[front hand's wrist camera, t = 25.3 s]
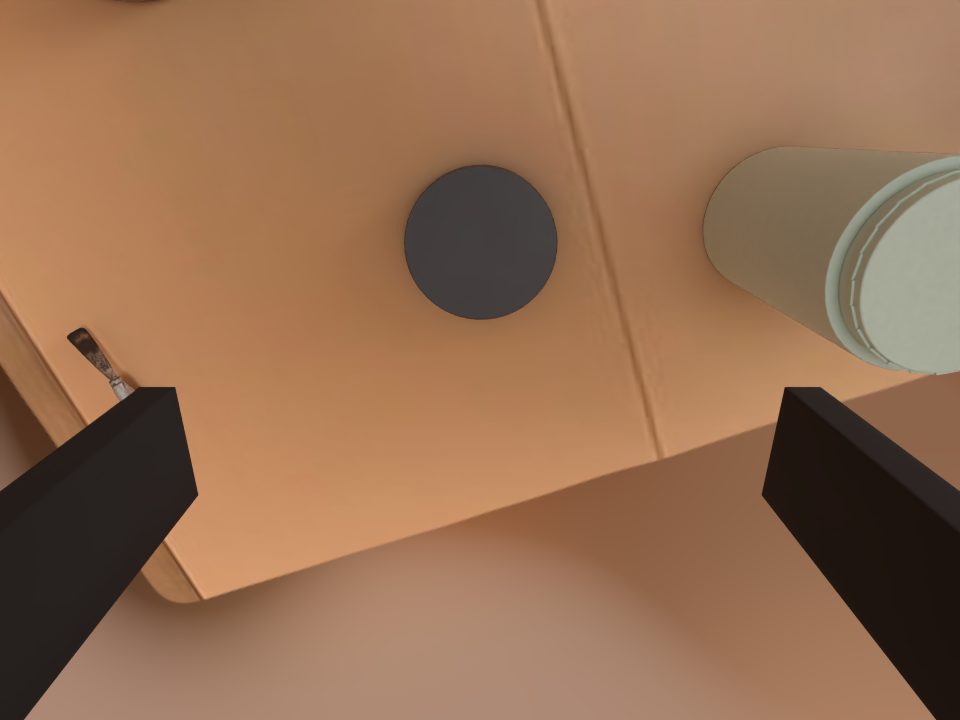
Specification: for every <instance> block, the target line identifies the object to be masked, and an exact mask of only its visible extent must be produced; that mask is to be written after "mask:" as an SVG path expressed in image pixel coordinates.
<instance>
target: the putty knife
mask: <svg viewBox="0 0 960 720" xmlns="http://www.w3.org/2000/svg"><path fill="white" fill-rule="evenodd" d="M67 339H68V340H69V341H70V342H71V343H72V344H73V345H74V346H75V347H76V348H77V349H78V350H79V351H80V352H81V353H82V354H83V355H84V356H85V357H86V358H87V359H88V360H89V361H90V362H91V363H92V364H93V365H94V366H95V367H96V368H97V369H98V370H99V371H100V372H102V373H103V374H104V375H105V376H106V377H107V378H108V379H110V380H111V381H110V382H109V383H110V385H111V386H112V388H113V390H114V393H115V394H116V395H117V397H118V399H119V400H120V401H122V400H123V399H124V398H126V397H127V396H128V395H130V394H131V393H132V392H134V391H135V390H134V389H133V388H132V387H131V386H130V385H129V384H127V383H126V382H125V381H124V380H123V379H121V377H117V375H116V374H115V372H114V370H113V369H112V367H111V365H110V364H109V362H108V360H107V359H106V357H105V356H104V354H103V352H102V351H101V350H100V348H99V347H98V345H97V344H96V342H95V341H94V339H93V338H92V337H91V335H90V334H89V333H88V332H87V331H86V329H84V328H79V329H77V330H75V331H74V332H72V333H70V334H69V335H68V336H67Z"/></svg>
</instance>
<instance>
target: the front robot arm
mask: <svg viewBox="0 0 960 720" xmlns="http://www.w3.org/2000/svg"><path fill="white" fill-rule="evenodd" d="M119 1H129V2H136V1H150V0H119ZM197 496H198V491H197V486H196V482H195V477H194V473H193V468H192V463H191V459H190V454H189V449H188V445H187V440H186V435H185V431H184V426H183V421H182V417H181V412H180V407H179V403H178V398H177V393H176V389H175V387H139V388H138V389H136V390H135V391H134V392H132V393H131V394H130V395H128V396H127V397H126V398H124V399H123V400H122V401H120V402H119V403H118V404H116V405H115V406H114V407H112V408H111V409H110V410H108V411H107V412H106V413H104V414H103V415H102V416H100V417H99V418H98V419H96V420H95V421H94V422H92V423H91V424H90V425H88V426H87V427H86V428H84V429H83V430H82V431H80V432H79V433H78V434H76V435H75V436H74V437H72V438H71V439H70V440H68V441H67V442H66V443H64V444H63V445H62V446H60V447H59V448H58V449H56V450H55V451H54V452H52V453H51V454H50V455H48V456H47V457H45V458H44V459H43V460H42V461H40V462H39V463H38V464H36V465H35V466H33V467H32V468H31V469H30V470H28V471H27V472H25V473H24V474H23V475H21V476H20V477H19V478H17V479H16V480H15V481H13V482H12V483H11V484H9V485H8V486H7V487H5V488H4V489H3V490H1V491H0V720H24V719H25V717H26V716H27V715H28V714H29V712H30V711H31V710H32V708H33V707H34V706H35V705H36V703H37V702H38V701H39V699H40V698H41V697H42V696H43V694H44V693H45V692H46V691H47V689H48V688H49V687H50V685H51V684H52V683H53V681H54V680H55V679H56V678H57V676H58V675H59V674H60V673H61V671H62V670H63V669H64V667H65V666H66V665H67V663H68V662H69V661H70V660H71V658H72V657H73V656H74V654H75V653H76V652H77V651H78V649H79V648H80V647H81V645H82V644H83V643H84V642H85V640H86V639H87V638H88V636H89V635H90V634H91V633H92V631H93V630H94V629H95V627H96V626H97V625H98V624H99V622H100V621H101V620H102V618H103V617H104V616H105V615H106V613H107V612H108V611H109V609H110V608H111V607H112V606H113V604H114V603H115V602H116V600H117V599H118V598H119V597H120V595H121V594H122V593H123V591H124V590H125V589H126V588H127V586H128V585H129V584H130V582H131V581H132V580H133V579H134V577H135V576H136V575H137V573H138V572H139V571H140V570H141V568H142V567H143V566H144V564H145V563H146V562H147V561H148V559H149V558H150V557H151V555H152V554H153V553H154V551H155V550H156V549H157V548H158V546H159V545H160V544H161V542H162V541H163V540H164V539H165V537H166V536H167V535H168V533H169V532H170V531H171V530H172V528H173V527H174V526H175V524H176V523H177V522H178V521H179V519H180V518H181V517H182V515H183V514H184V513H185V512H186V510H187V509H188V508H189V506H190V505H191V504H192V503H193V501H194V500H195V499H196V497H197ZM762 496H763V497H764V499H765V500H766V501H767V503H768V504H769V505H770V506H771V508H772V509H773V510H774V512H775V513H776V514H777V515H778V517H779V518H780V519H781V521H782V522H783V523H784V524H785V526H786V527H787V528H788V530H789V531H790V532H791V533H792V535H793V536H794V537H795V539H796V540H797V541H798V542H799V544H800V545H801V546H802V548H803V549H804V550H805V551H806V553H807V554H808V555H809V557H810V558H811V559H812V560H813V562H814V563H815V564H816V566H817V567H818V568H819V570H820V571H821V572H822V573H823V575H824V576H825V577H826V579H827V580H828V581H829V582H830V584H831V585H832V586H833V588H834V589H835V590H836V591H837V593H838V594H839V595H840V596H841V598H842V599H843V600H844V602H845V603H846V604H847V605H848V607H849V608H850V609H851V611H852V612H853V613H854V615H855V616H856V617H857V618H858V620H859V621H860V622H861V624H862V625H863V626H864V627H865V629H866V630H867V631H868V633H869V634H870V635H871V636H872V638H873V639H874V640H875V642H876V643H877V644H878V645H879V647H880V648H881V649H882V651H883V652H884V653H885V654H886V656H887V657H888V658H889V660H890V661H891V662H892V663H893V665H894V666H895V667H896V669H897V670H898V671H899V673H900V674H901V675H902V676H903V678H904V679H905V680H906V681H907V683H908V684H909V685H910V687H911V688H912V689H913V690H914V692H915V693H916V694H917V696H918V697H919V698H920V700H921V701H922V702H923V703H924V705H925V706H926V707H927V709H928V710H929V711H930V712H931V714H932V715H933V716H934V718H935V719H936V720H960V491H959V490H957V489H956V488H955V487H953V486H952V485H951V484H949V483H948V482H947V481H945V480H944V479H943V478H941V477H940V476H939V475H937V474H936V473H935V472H933V471H932V470H930V469H929V468H928V467H926V466H925V465H924V464H922V463H921V462H920V461H918V460H917V459H916V458H914V457H913V456H912V455H910V454H909V453H908V452H906V451H905V450H904V449H902V448H901V447H900V446H898V445H897V444H896V443H894V442H893V441H892V440H890V439H889V438H888V437H886V436H885V435H884V434H882V433H881V432H880V431H878V430H877V429H876V428H874V427H873V426H872V425H870V424H869V423H868V422H866V421H865V420H864V419H862V418H861V417H860V416H858V415H857V414H856V413H854V412H853V411H852V410H850V409H849V408H848V407H846V406H845V405H844V404H842V403H841V402H840V401H838V400H837V399H836V398H834V397H833V396H832V395H830V394H829V393H828V392H826V391H825V390H824V389H822V388H821V387H785V389H784V393H783V398H782V403H781V407H780V412H779V417H778V421H777V426H776V431H775V435H774V440H773V445H772V449H771V454H770V459H769V463H768V468H767V473H766V477H765V482H764V486H763V491H762Z"/></svg>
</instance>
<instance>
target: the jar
mask: <svg viewBox="0 0 960 720" xmlns="http://www.w3.org/2000/svg"><path fill="white" fill-rule="evenodd" d="M703 238H704V245H705V249H706V252H707V255H708V257H709V259H710V261H711V263H712V265H713V266H714V267H715V269H716V270H717V271H718V272H719V273H720V274H721V275H722V276H723V277H724V278H726V279H727V280H729V281H730V282H732V283H733V284H735V285H737V286H738V287H740V288H742V289H743V290H745V291H747V292H749V293H750V294H752V295H754V296H755V297H757V298H759V299H760V300H762V301H764V302H765V303H767V304H769V305H770V306H772V307H774V308H775V309H777V310H779V311H780V312H782V313H784V314H785V315H787V316H789V317H790V318H792V319H794V320H795V321H797V322H799V323H801V324H802V325H804V326H806V327H807V328H809V329H811V330H812V331H814V332H816V333H817V334H819V335H821V336H822V337H824V338H826V339H827V340H829V341H831V342H832V343H834V344H836V345H837V346H839V347H841V348H842V349H844V350H846V351H847V352H849V353H851V354H853V355H854V356H856V357H858V358H859V359H861V360H863V361H865V362H867V363H869V364H872V365H874V366H878V367H881V368H885V369H892V370H905V371H908V372H910V373H921V374H934V375H941V374H946V373H952V372H957V371H960V154H945V153H923V152H901V151H879V150H857V149H835V148H813V147H786V146H784V147H776V148H771V149H767V150H764V151H761V152H759V153H756V154H754V155H752V156H750V157H748V158H747V159H745V160H744V161H742V162H741V163H739V164H738V165H737V166H735V167H734V168H733V169H732V170H731V171H730V172H729V173H728V174H727V175H726V176H725V177H724V178H723V179H722V181H721V182H720V184H719V185H718V186H717V188H716V189H715V191H714V193H713V195H712V196H711V199H710V201H709V204H708V206H707V209H706V213H705V217H704V223H703Z"/></svg>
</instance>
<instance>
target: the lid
mask: <svg viewBox="0 0 960 720" xmlns="http://www.w3.org/2000/svg"><path fill="white" fill-rule="evenodd" d="M404 244H405V255H406V260H407V264H408V267H409V270H410V273H411V275H412V277H413V279H414V281H415V283H416V284H417V286H418V287H419V289H420V290H421V291H422V292H423V293H424V295H425V296H426V297H427V298H428V299H429V300H431V301H432V302H433V303H434V304H435V305H437V306H438V307H440V308H441V309H443V310H445V311H447V312H449V313H451V314H454V315H456V316H459V317H464V318H468V319H477V320H479V319H493V318H498V317H502V316H505V315H508V314H510V313H513V312H515V311H517V310H518V309H520V308H522V307H523V306H525V305H526V304H527V303H529V302H530V301H531V300H532V299H533V298H534V297H535V296H536V295H537V294H538V293H539V292H540V291H541V289H542V288H543V287H544V285H545V284H546V282H547V280H548V278H549V276H550V274H551V272H552V269H553V266H554V263H555V259H556V253H557V233H556V227H555V223H554V219H553V217H552V214H551V211H550V209H549V208H548V206H547V204H546V202H545V201H544V199H543V198H542V196H541V195H540V194H539V193H538V192H537V191H536V190H535V188H534V187H533V186H532V185H531V184H530V183H528V182H527V181H526V180H525V179H523V178H522V177H520V176H519V175H517V174H515V173H513V172H511V171H509V170H506V169H503V168H500V167H496V166H489V165H472V166H465V167H462V168H458V169H455V170H453V171H451V172H449V173H446V174H445V175H443V176H442V177H440V178H438V179H437V180H436V181H435V182H433V183H432V184H431V185H430V186H429V187H428V188H427V189H426V190H425V191H424V193H423V194H422V195H421V196H420V197H419V199H418V200H417V202H416V203H415V205H414V207H413V209H412V211H411V213H410V216H409V219H408V222H407V226H406V231H405V242H404Z"/></svg>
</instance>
